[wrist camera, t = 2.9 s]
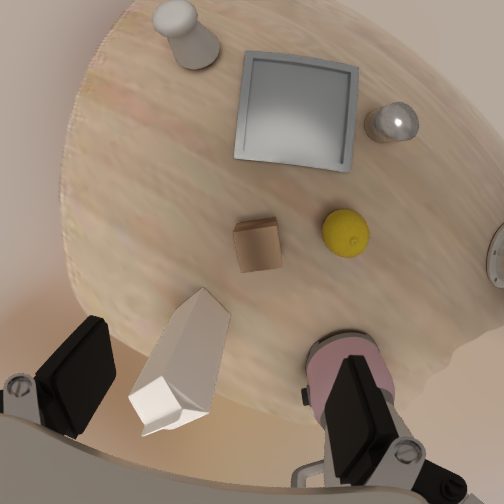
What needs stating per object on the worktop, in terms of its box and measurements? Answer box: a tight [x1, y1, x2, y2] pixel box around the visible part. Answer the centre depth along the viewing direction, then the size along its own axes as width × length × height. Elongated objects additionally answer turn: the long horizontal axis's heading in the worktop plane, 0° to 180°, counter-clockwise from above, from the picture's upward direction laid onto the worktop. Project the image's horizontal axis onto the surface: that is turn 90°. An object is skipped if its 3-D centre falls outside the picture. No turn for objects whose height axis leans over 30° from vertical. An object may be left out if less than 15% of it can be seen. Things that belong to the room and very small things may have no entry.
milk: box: [128, 287, 231, 436], centre depth 31 cm, size 6×6×22 cm
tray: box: [234, 51, 359, 173], centre depth 32 cm, size 14×14×2 cm
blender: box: [291, 332, 414, 488], centre depth 28 cm, size 16×12×32 cm
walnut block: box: [233, 217, 283, 273], centre depth 36 cm, size 5×5×5 cm
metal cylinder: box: [364, 102, 419, 143], centre depth 29 cm, size 4×4×7 cm
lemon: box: [322, 209, 369, 258], centre depth 33 cm, size 6×6×8 cm
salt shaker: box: [152, 0, 220, 70], centre depth 24 cm, size 6×6×13 cm
